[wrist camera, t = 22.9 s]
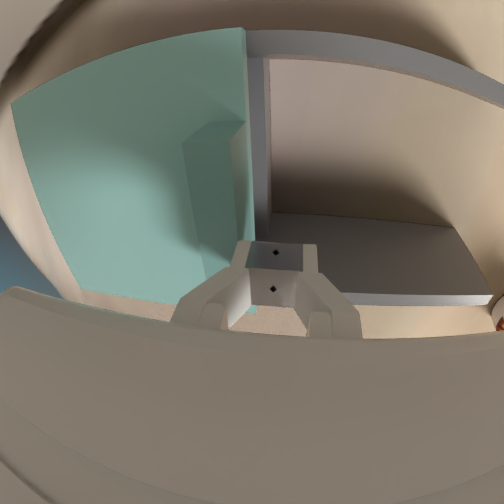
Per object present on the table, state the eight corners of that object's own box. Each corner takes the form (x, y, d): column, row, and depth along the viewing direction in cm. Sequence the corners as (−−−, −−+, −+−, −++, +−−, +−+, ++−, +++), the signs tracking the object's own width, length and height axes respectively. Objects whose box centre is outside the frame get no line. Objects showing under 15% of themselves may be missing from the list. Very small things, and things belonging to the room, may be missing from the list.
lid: (257, 302, 19) (248, 352, 16) (86, 280, 21) (64, 314, 18) (245, 30, 8) (221, 15, 5) (21, 98, 11) (-24, 120, 7)
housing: (451, 237, 23) (486, 304, 16) (129, 218, 28) (84, 277, 21) (487, 89, 13) (559, 121, 6) (97, 75, 18) (20, 99, 11)
